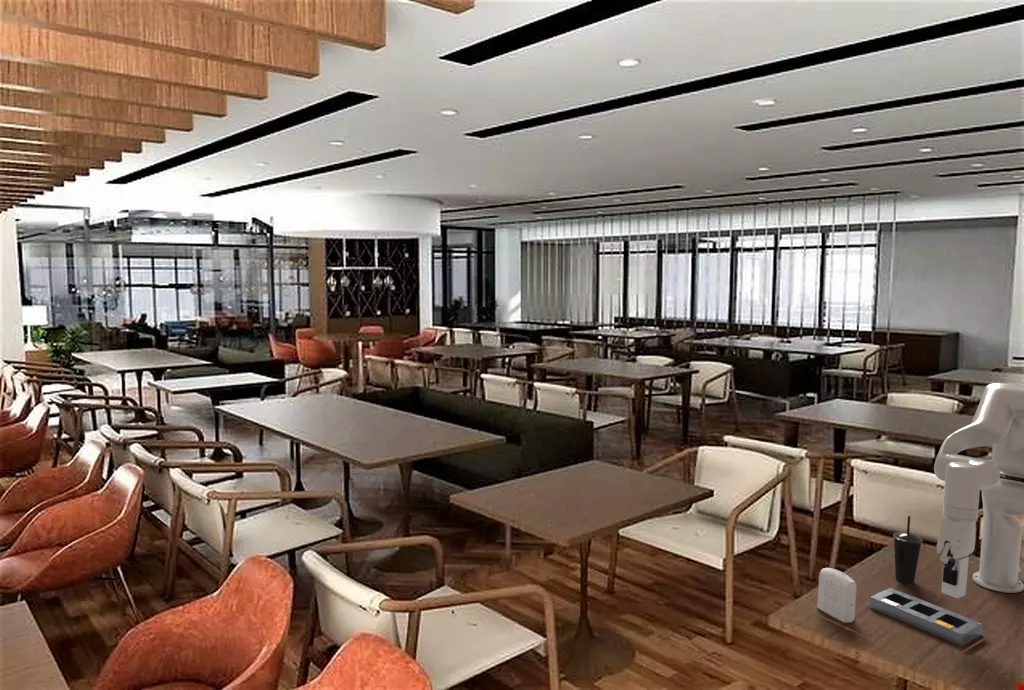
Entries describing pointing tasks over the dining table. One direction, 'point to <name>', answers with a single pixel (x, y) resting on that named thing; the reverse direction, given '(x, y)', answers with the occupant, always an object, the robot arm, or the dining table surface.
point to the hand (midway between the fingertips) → (954, 580)
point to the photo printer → (837, 594)
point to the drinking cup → (906, 555)
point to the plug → (961, 579)
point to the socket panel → (926, 616)
